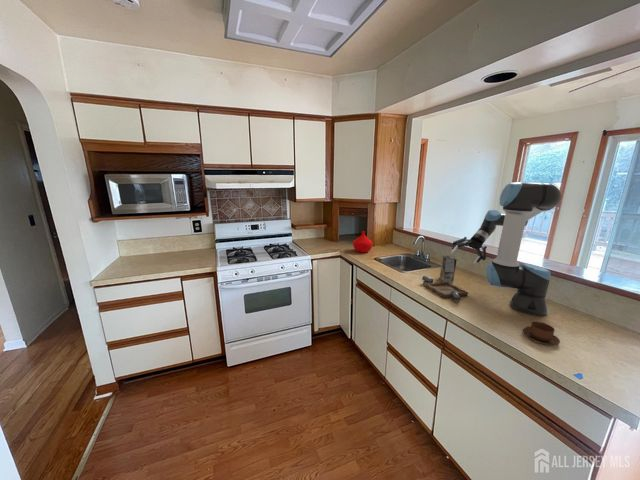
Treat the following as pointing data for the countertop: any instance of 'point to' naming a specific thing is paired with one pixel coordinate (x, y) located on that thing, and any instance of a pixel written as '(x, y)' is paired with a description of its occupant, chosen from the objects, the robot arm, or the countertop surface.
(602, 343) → the countertop surface
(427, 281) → the shaft
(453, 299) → the shaft
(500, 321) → the countertop surface
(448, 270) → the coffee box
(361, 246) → the vase
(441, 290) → the coupling cradle
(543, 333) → the cup and saucer
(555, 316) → the countertop surface
